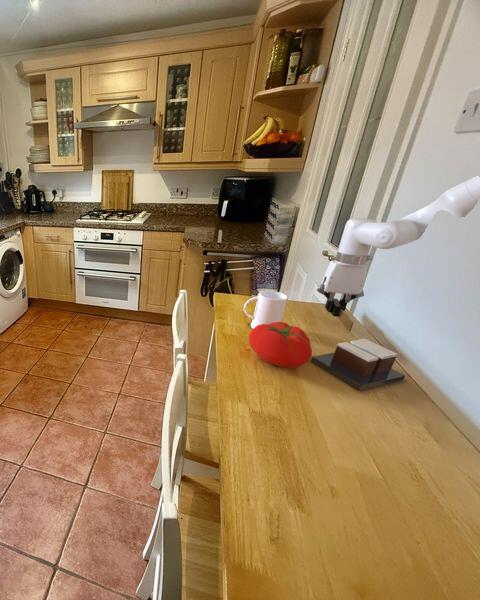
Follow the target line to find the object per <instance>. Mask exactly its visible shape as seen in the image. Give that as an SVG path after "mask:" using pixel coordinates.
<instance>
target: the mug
mask: <svg viewBox="0 0 480 600" xmlns="http://www.w3.org/2000/svg"><path fill="white" fill-rule="evenodd" d="M252 301H256V305H255V309H254V313H253V315H250V314H249V313H248V312H247V310H246V309H247V305H248V304H249V303H250V302H252ZM287 302H288V296H287V295H286V294H284V293H282V292H280V291H275V290H260V291H259V292H258V295H257V296H254V297H251V298H249V299H248V300H247V301H246V302H245V303H244V305H243V312H244V314H245V315H246V317H247V318H248V319H251V320H252V321H251V323H250V327H251V328H252V330H253V329H254V328H255V327H256V326H258V325H261V324H270V323H272V322H282V320H283V316H284V313H285V309H286V306H287Z"/></svg>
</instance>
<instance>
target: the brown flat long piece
mask: <svg viewBox="0 0 480 600" xmlns="http://www.w3.org/2000/svg"><path fill="white" fill-rule="evenodd" d="M333 301H334V304H333V308H332V311H331V312H329V313H330V314H331V315H332V317H337V319H338V320H339V321H340V322H341V323H342V325H343V326H344V328H346V330H347V331H348V332H350V333H351V331H352V328H353V325H354V321H353V320H352V319H351V318H350V316H349V315H348V314H347V313H346V312H345V311H344V309H345V310H346V308H345V307H344V306H343V305H342V304H341V303H340V299H338V298H335V297H334V300H333Z"/></svg>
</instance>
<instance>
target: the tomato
mask: <svg viewBox="0 0 480 600" xmlns="http://www.w3.org/2000/svg"><path fill="white" fill-rule="evenodd" d="M248 343H249V346H250V348H251V350H253V352H255V353H256V355H257V357H259V358H260V359H261V360H262V361H264V362H265V363H267V364H270V365H272V366H277V367H283V368H287V369H290V368H298V367H299V368H300V367H302V366H303V365H305V364H307V363H308V362H309V361H310V359H311V358H312V354H313V350H312V349H313V348H312V346H311V340H310V338H309V336H308V335H307V334H306V333H305V331H304V330H303V329H301V328H300V327H299V326H295V325H290V324H288V323H287V322H282V321H281V322H272V323H270V324H261V325H258V326H256V327H255V328H254V329H253V328H252V329H251V330H250V332H249V334H248Z"/></svg>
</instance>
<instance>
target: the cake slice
mask: <svg viewBox="0 0 480 600" xmlns="http://www.w3.org/2000/svg"><path fill="white" fill-rule="evenodd" d="M333 353H334V356H333V358H332V360H334V361H336V362H338V363H339V364H341V365H343V366H345V367H346V368H348V369H350V370H352V371H353V372H355V373H357V374H359V375H360V376H362V377H364V376H368V375H372V372H373V370H374V368H375V365H376V363H377V361H378V357H376V356H374V355H372V354H370V353H368V352H366V351H364V350H362V349H360V348H358V347H356V346H354V345H352V344H350V342H347V341H345V342H344V341H343V342H339V343H337V345H336V348H335V350H334V352H333Z"/></svg>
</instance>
